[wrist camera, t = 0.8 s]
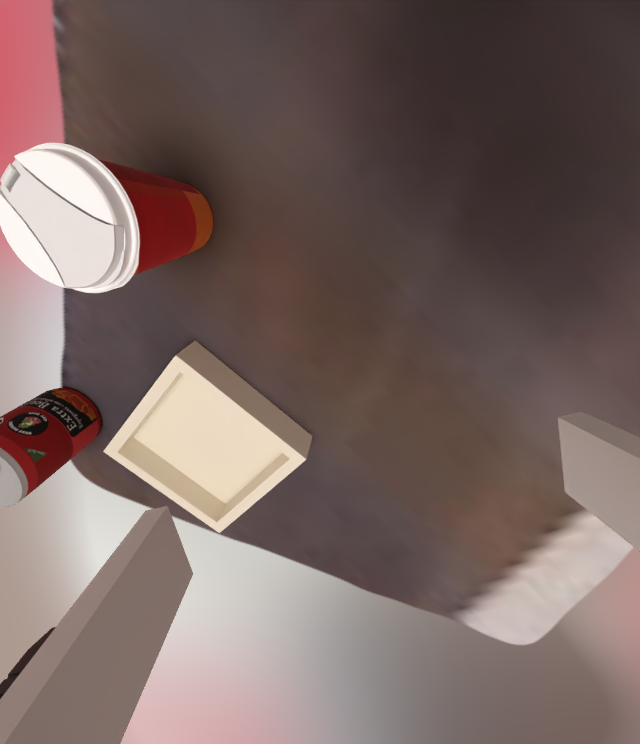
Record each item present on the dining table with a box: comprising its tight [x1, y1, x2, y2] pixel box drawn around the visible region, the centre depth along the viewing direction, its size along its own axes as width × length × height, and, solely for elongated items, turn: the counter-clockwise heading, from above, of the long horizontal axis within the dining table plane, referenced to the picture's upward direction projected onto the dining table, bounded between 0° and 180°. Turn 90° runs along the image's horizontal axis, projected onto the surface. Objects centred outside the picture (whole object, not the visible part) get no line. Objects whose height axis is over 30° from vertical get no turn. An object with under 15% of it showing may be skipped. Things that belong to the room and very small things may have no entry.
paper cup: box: [0, 143, 213, 293], centre depth 25 cm, size 8×8×14 cm
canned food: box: [0, 388, 101, 508], centre depth 37 cm, size 8×8×11 cm
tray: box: [103, 341, 312, 533], centre depth 39 cm, size 16×16×4 cm
